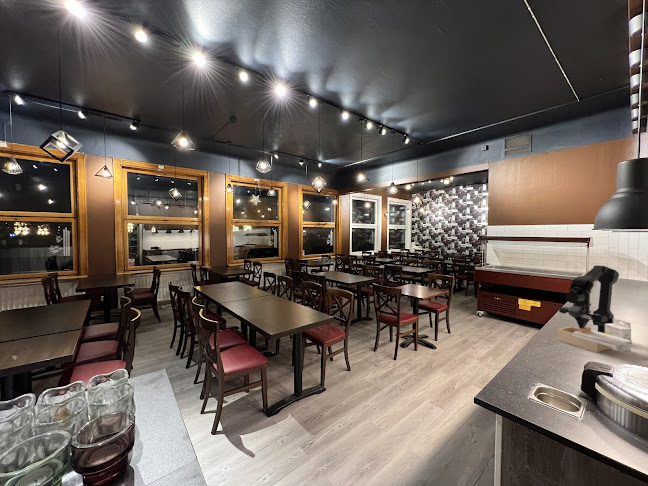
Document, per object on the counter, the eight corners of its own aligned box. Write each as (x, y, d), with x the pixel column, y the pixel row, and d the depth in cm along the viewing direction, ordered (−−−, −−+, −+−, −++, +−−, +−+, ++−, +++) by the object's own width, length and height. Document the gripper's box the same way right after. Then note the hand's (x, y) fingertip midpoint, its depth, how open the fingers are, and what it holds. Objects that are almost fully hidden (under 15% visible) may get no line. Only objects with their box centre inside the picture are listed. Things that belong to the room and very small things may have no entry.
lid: (588, 332, 148) (588, 325, 148) (631, 344, 132) (632, 336, 132) (572, 335, 144) (572, 328, 144) (616, 348, 128) (616, 340, 127)
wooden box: (570, 336, 155) (571, 326, 155) (610, 348, 139) (611, 337, 139) (557, 339, 151) (557, 329, 151) (596, 352, 135) (597, 340, 135)
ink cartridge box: (603, 344, 144) (604, 317, 143) (612, 344, 144) (612, 317, 144) (622, 351, 135) (622, 323, 135) (631, 351, 136) (632, 322, 135)
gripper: (553, 298, 151) (552, 325, 152) (595, 307, 134) (594, 337, 134) (565, 296, 155) (565, 323, 155) (608, 304, 137) (607, 334, 138)
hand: (581, 329), depth 146 cm, fingers closed
